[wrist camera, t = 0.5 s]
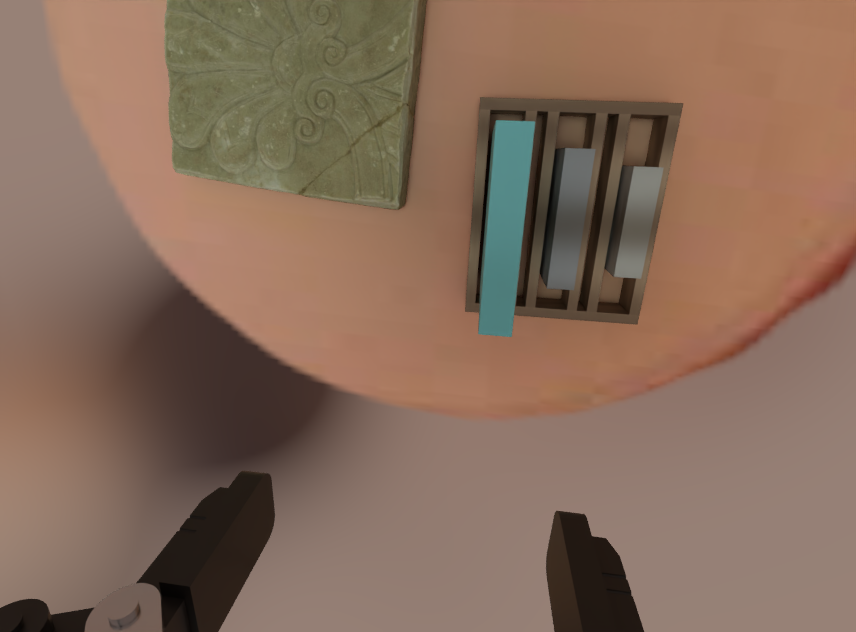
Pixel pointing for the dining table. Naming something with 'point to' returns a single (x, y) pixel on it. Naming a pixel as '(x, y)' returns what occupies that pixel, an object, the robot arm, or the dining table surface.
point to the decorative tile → (296, 94)
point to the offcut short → (632, 220)
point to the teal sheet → (504, 224)
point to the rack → (604, 207)
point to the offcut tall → (566, 216)
